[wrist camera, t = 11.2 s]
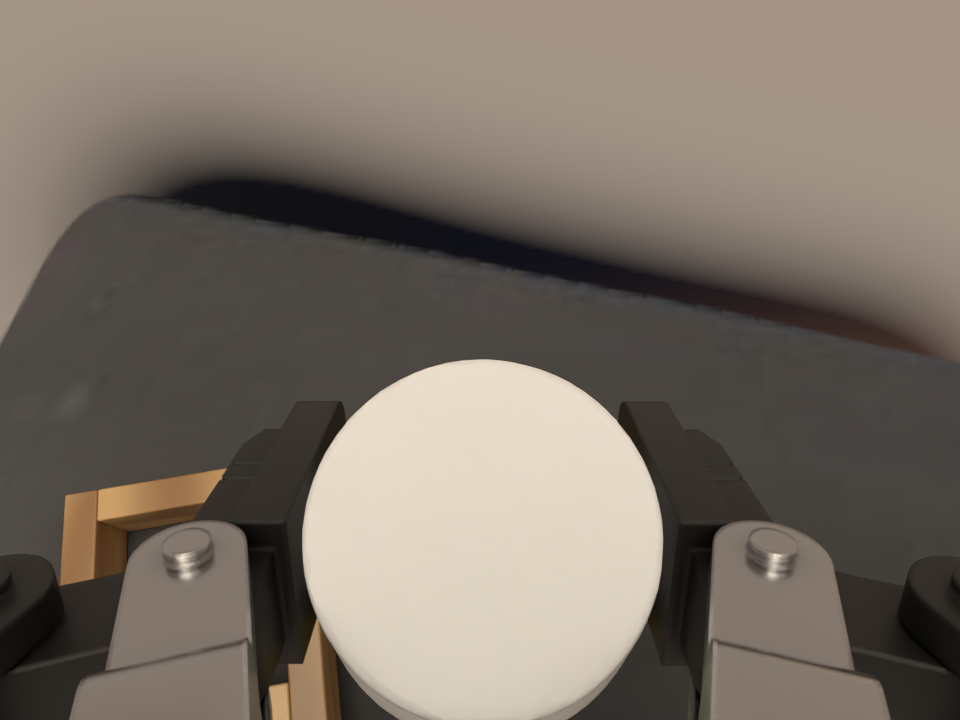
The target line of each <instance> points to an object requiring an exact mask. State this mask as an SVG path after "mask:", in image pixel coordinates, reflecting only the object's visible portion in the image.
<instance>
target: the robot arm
mask: <svg viewBox="0 0 960 720" xmlns="http://www.w3.org/2000/svg"><path fill="white" fill-rule="evenodd" d="M618 423H619V425H620V426H621V427H622V428H623V430H624V431H625V432H626V433H627V434H628V436H629V437H630V438H631V440H632V442H633V443H634V445H635V447H636V449H637V450H638V452H639V454H640V455H641V457H642V459H643V460H644V463H645V465H646V467H647V469H648V472H649V474H650V477H651V479H652V482H653V484H654V487H655V491H656V495H657V499H658V503H659V507H660V512H661V517H662V527H663V556H662V571H661V576H660V582H659V588H658V592H657V595H656V599H655V602H654V605H653V607H652V610H651V612H650V615H649V618H648V623H649V626H650V629H651V632H652V636H653V639H654V642H655V645H656V648H657V652H658V655H659V658H660V661H661V664H662V665H688V668H689V670H690V673H691V676H692V683H691V689H690V696H689V702H688V715H687V720H960V558H958V557H950V556H933V557H926V558H923V559H920V560H918V561H916V562H915V563H914V564H913V565H912V566H911V567H910V570H909V572H908V576H907V579H906V583H905V586H899V585H895V584H890V583H885V582H880V581H875V580H870V579H865V578H860V577H856V576H851V575H847V574H843V573H840V572H837V571H834V567H833V563H832V560H831V558H830V556H829V555H828V553H827V552H826V551H825V550H824V549H823V548H822V546H820V545H819V544H818V543H817V542H816V541H814V540H813V539H811V538H810V537H808V536H807V535H805V534H803V533H801V532H799V531H797V530H794V529H792V528H790V527H787V526H784V525H780V524H777V523H773V521H772V520H771V518H770V517H769V516H768V514H767V513H766V511H765V510H764V508H763V507H762V505H761V504H760V502H759V501H758V499H757V498H756V496H755V495H754V493H753V492H752V490H751V489H750V487H749V486H748V484H747V483H746V481H743V479H742V475H741V474H740V472H739V471H738V469H737V468H736V466H733V462H732V460H731V459H730V457H729V456H728V455H727V453H726V452H725V450H724V449H723V447H722V446H721V444H719V443H718V442H716V441H715V440H713V439H712V438H710V437H709V436H707V435H706V434H704V433H703V432H701V431H700V430H683V428H682V427H681V425H680V423H679V422H678V420H677V418H676V416H675V415H674V413H673V411H672V410H671V408H670V406H669V405H668V403H667V402H622V403H621V406H620V409H619V415H618ZM345 424H346V420H345V411H344V406H343V404H342V402H341V401H298V402H297V403H296V404H295V406H294V407H293V409H292V411H291V412H290V414H289V416H288V418H287V419H286V421H285V423H284V424H283V426H282V428H281V429H265V430H263V431H262V432H260V433H259V434H257V435H256V436H255V437H253V438H252V439H250V440H249V441H247V442H246V443H244V444H243V445H242V447H241V448H240V450H239V451H238V453H237V454H236V456H235V457H234V459H233V460H232V464H231V465H229V466H228V468H227V469H226V471H225V472H224V474H223V475H222V480H219V481H218V483H217V484H216V486H215V487H214V489H213V490H212V492H211V493H210V495H209V496H208V498H207V499H206V501H205V502H204V504H203V506H202V507H201V509H200V510H199V512H198V513H197V515H196V516H195V518H194V519H193V521H192V522H188V523H183V524H180V525H176V526H173V527H170V528H168V529H166V530H163V531H161V532H159V533H157V534H155V535H153V536H152V537H150V538H149V539H147V540H146V541H144V542H143V543H142V544H141V545H140V546H138V548H137V549H136V550H135V551H134V552H133V553H132V555H131V556H130V558H129V560H128V563H127V567H126V571H125V572H122V573H118V574H114V575H110V576H105V577H100V578H95V579H90V580H85V581H80V582H76V583H71V584H66V585H61V586H58V582H57V579H56V575H55V572H54V569H53V566H52V564H51V563H50V562H49V561H48V560H46V559H44V558H43V557H39V556H36V555H29V554H14V555H5V556H0V720H273V715H272V702H271V696H270V689H269V686H270V684H271V681H272V678H273V675H274V672H275V670H276V667H277V664H303V662H304V659H305V656H306V652H307V649H308V646H309V643H310V639H311V636H312V633H313V630H314V626H315V623H316V620H317V616H316V614H315V611H314V608H313V605H312V603H311V600H310V596H309V593H308V589H307V585H306V580H305V575H304V566H303V553H302V528H303V522H304V515H305V508H306V502H307V499H308V495H309V492H310V488H311V485H312V482H313V479H314V477H315V474H316V472H317V470H318V467H319V465H320V463H321V461H322V459H323V457H324V455H325V453H326V451H327V450H328V448H329V446H330V445H331V443H332V442H333V440H334V439H335V437H336V435H337V434H338V433H339V432H340V430H341V429H342V428H343V427H344V425H345Z"/></svg>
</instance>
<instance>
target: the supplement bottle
mask: <svg viewBox="0 0 960 720" xmlns="http://www.w3.org/2000/svg"><path fill="white" fill-rule="evenodd" d="M302 553H303V566H304V575H305V580H306V585H307V589H308V593H309V596H310V600H311V603H312V605H313V608H314V611H315V614H316V616H317V618H318V621H319V623H320V625H321V627H322V629H323V631H324V633H325V635H326V637H327V639H328V640H329V642H330V643H331V645H332V646H333V648H334V649H335V651H336V652H337V654H338V656H339V657H340V659H341V661H342V662H343V664H344V666H345V667H346V669H347V671H348V672H349V673H350V674H351V676H352V677H353V678H354V680H355V681H356V682H357V684H358V685H359V686H360V687H361V688H362V689H363V690H364V691H365V693H366V694H367V695H368V696H369V697H371V698H372V699H373V700H374V701H375V702H376V703H377V704H378V705H379V706H380V707H382V708H383V709H384V710H386V711H387V712H389V713H390V714H392V715H393V716H394V717H396V718H398V719H399V720H567V719H569V718H570V717H572V716H573V715H575V714H576V713H578V712H579V711H580V710H582V709H583V708H584V707H585V706H587V705H588V704H589V703H590V702H591V701H592V700H593V699H594V698H596V697H597V696H598V695H599V694H600V692H601V691H602V690H603V689H604V688H605V687H606V686H607V685H608V683H609V682H610V681H611V679H612V678H613V677H614V676H615V674H616V673H617V672H618V670H619V669H620V667H621V666H622V664H623V662H624V661H625V659H626V658H627V656H628V654H629V653H630V651H631V650H632V648H633V647H634V645H635V643H636V642H637V640H638V638H639V637H640V635H641V633H642V631H643V629H644V627H645V625H646V623H647V620H648V618H649V615H650V612H651V610H652V607H653V605H654V602H655V599H656V595H657V592H658V588H659V582H660V576H661V571H662V556H663V527H662V517H661V512H660V507H659V503H658V499H657V495H656V491H655V487H654V484H653V482H652V479H651V477H650V474H649V472H648V469H647V467H646V465H645V463H644V460H643V459H642V457H641V455H640V454H639V452H638V450H637V449H636V447H635V445H634V443H633V442H632V440H631V438H630V437H629V436H628V434H627V433H626V432H625V431H624V430H623V428H622V427H621V426H620V425H619V423H618V422H617V421H616V420H615V419H614V418H613V417H612V416H611V414H610V413H609V412H608V411H607V410H606V409H605V408H603V407H602V406H601V405H600V404H599V403H598V402H597V401H596V400H594V399H593V398H592V397H591V396H589V395H588V394H587V393H585V392H584V391H582V390H581V389H579V388H577V387H576V386H574V385H573V384H571V383H570V382H568V381H566V380H564V379H562V378H560V377H558V376H555V375H553V374H550V373H548V372H545V371H543V370H540V369H537V368H533V367H530V366H526V365H522V364H517V363H513V362H507V361H499V360H465V361H457V362H450V363H445V364H441V365H437V366H434V367H430V368H427V369H424V370H421V371H419V372H416V373H414V374H411V375H409V376H407V377H405V378H403V379H401V380H399V381H397V382H395V383H394V384H392V385H390V386H389V387H387V388H385V389H384V390H382V391H380V392H379V393H378V394H377V395H375V396H374V397H373V398H372V399H370V400H369V401H368V402H367V403H366V404H365V405H364V406H362V407H361V408H360V409H359V410H358V411H357V412H356V413H355V414H354V415H353V416H352V417H351V418H350V419H349V420H348V421H347V423H346V424H345V425H344V427H343V428H342V429H341V430H340V432H339V433H338V434H337V435H336V437H335V439H334V440H333V442H332V443H331V445H330V446H329V448H328V450H327V451H326V453H325V455H324V457H323V459H322V461H321V463H320V465H319V467H318V470H317V472H316V474H315V477H314V479H313V482H312V485H311V488H310V492H309V495H308V499H307V502H306V508H305V515H304V522H303V528H302Z"/></svg>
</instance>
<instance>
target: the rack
mask: <svg viewBox="0 0 960 720" xmlns="http://www.w3.org/2000/svg"><path fill="white" fill-rule="evenodd" d="M226 469H227V468H225V469H219V470H213V471H207V472H201V473H196V474H190V475H184V476H178V477H172V478H166V479H160V480H154V481H148V482H142V483H136V484H130V485H124V486H118V487H112V488H106V489H101V490H99V491H98V490H94V491H88V492H82V493H77V494H71V495H66V497H65V512H64V528H63V545H62V561H61V578H60V586H61V585H66V584H71V583H76V582H80V581H85V580H90V579H95V578H100V577H105V576H110V575H114V574H118V573H122V572H125V571H126V567H127V531H135V530H141V529H147V528H152V527H158V526H164V525H170V524H175V523H181V522H187V521H193V519H194V518H195V516H196V515H197V513H198V512H199V510H200V509H201V507H202V506H203V504H204V502H205V501H206V499H207V498H208V496H209V495H210V493H211V492H212V490H213V489H214V487H215V486H216V484H217V483H218V481H219V480H222V475H223V474H224V472H225V471H226ZM288 678H289V682H286V683H281V684H276V685H271V686H269V689H270V696H271V702H272V715H273V720H341V708H340V697H339V685H338V674H337V662H336V651H335V649H334V648H333V646H332V645H331V643H330V642H329V640H328V639H327V637H326V635H325V633H324V631H323V629H322V627H321V625H320V623H319V621H318V618H317V620H316V623H315V626H314V630H313V633H312V636H311V639H310V643H309V646H308V649H307V652H306V656H305V659H304V662H303V664H288Z"/></svg>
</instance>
